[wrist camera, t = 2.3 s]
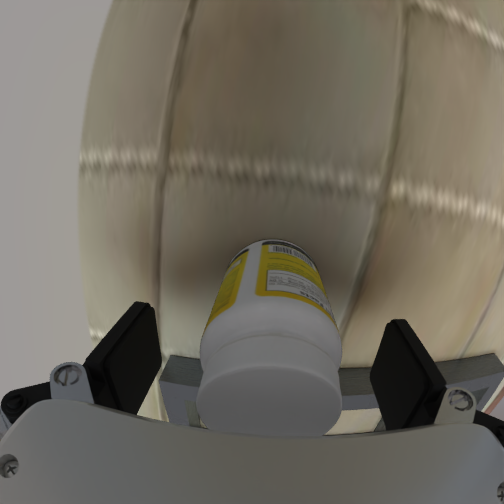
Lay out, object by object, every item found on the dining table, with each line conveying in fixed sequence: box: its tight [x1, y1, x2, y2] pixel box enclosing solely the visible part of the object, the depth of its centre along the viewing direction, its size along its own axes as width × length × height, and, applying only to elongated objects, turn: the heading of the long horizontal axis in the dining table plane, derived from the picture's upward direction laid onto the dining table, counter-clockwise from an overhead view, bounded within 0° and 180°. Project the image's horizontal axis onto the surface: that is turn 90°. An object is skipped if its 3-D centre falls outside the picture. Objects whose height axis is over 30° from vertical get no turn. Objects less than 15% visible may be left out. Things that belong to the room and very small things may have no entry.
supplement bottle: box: [196, 239, 342, 436], centre depth 11 cm, size 5×5×8 cm
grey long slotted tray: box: [159, 353, 504, 436], centre depth 17 cm, size 9×25×2 cm, turn 88°
